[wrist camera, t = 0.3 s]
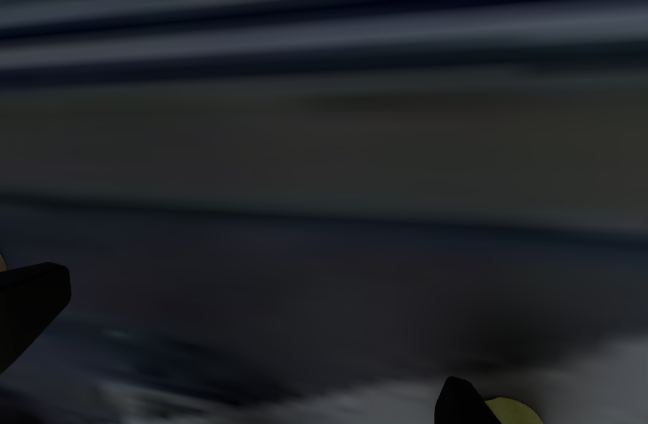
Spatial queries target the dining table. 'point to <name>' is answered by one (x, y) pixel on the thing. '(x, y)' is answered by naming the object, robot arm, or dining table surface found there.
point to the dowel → (2, 264)
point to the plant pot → (513, 411)
